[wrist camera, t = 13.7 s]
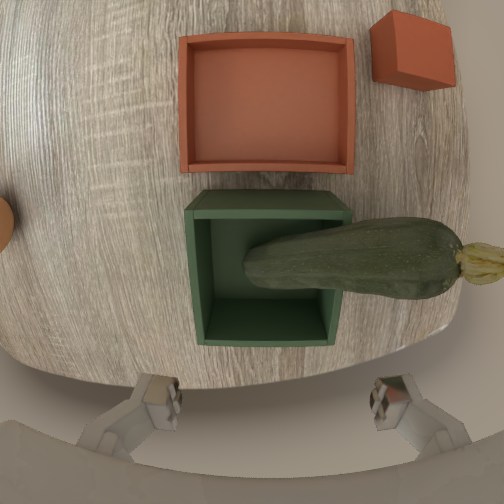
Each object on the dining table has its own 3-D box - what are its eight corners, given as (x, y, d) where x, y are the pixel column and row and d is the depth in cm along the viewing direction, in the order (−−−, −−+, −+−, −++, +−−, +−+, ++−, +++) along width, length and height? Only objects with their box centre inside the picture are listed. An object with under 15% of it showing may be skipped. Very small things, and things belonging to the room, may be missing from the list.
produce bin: (330, 190, 24) (353, 211, 18) (320, 301, 27) (334, 345, 21) (202, 189, 24) (183, 209, 18) (209, 300, 28) (197, 345, 22)
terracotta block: (421, 40, 18) (450, 27, 13) (424, 91, 20) (456, 86, 15) (369, 28, 18) (392, 8, 14) (372, 81, 20) (397, 71, 15)
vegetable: (214, 284, 22) (532, 305, 8) (220, 225, 23) (530, 200, 8) (257, 287, 25) (522, 302, 11) (261, 235, 26) (522, 222, 11)
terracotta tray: (343, 48, 19) (353, 38, 16) (343, 169, 23) (353, 174, 20) (188, 47, 19) (179, 36, 17) (189, 168, 23) (180, 173, 20)
